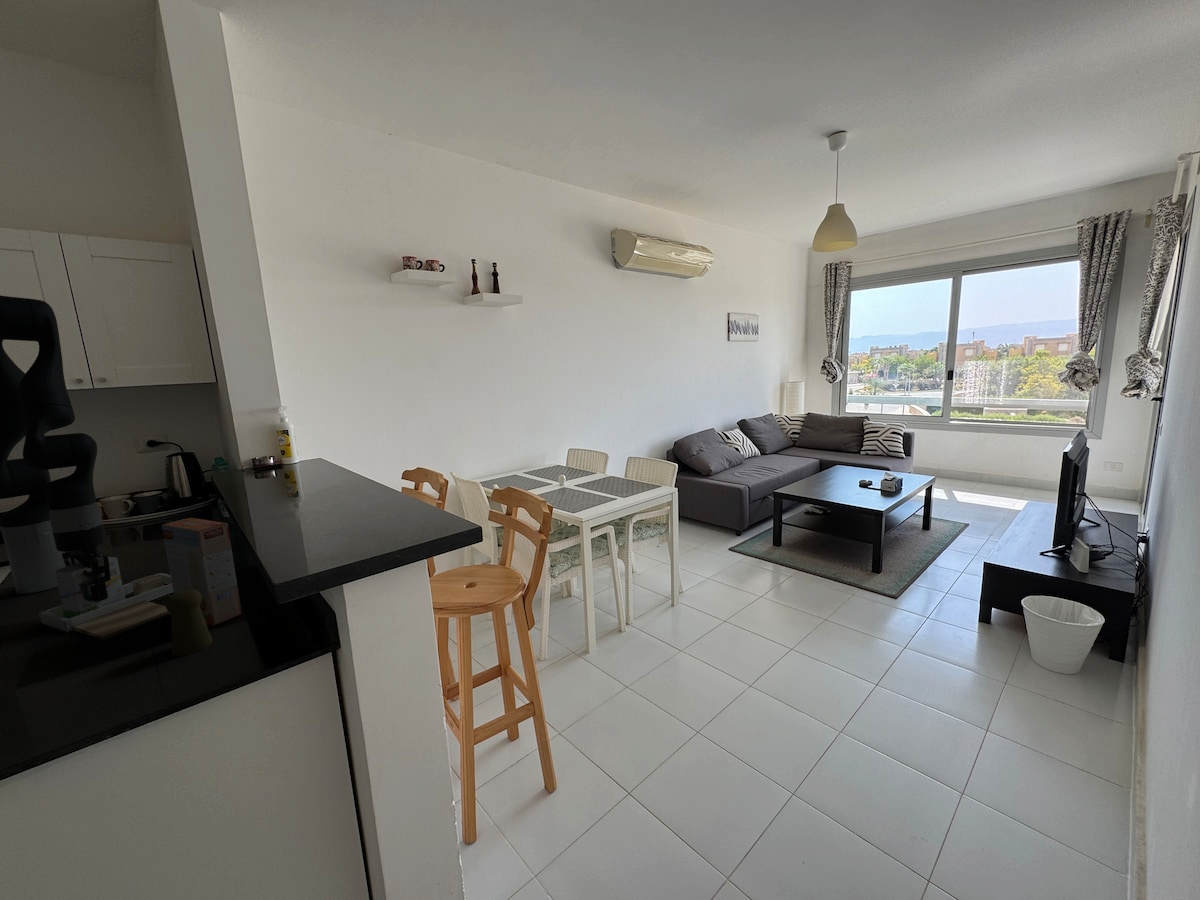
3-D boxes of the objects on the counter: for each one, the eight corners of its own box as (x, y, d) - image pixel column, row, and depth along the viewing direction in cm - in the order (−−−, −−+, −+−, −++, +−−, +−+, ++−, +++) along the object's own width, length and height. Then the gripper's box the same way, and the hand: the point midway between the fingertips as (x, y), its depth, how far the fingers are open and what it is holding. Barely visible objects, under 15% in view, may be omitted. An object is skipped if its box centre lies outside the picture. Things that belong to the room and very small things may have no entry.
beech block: (134, 597, 115) (131, 581, 115) (155, 590, 119) (152, 574, 118) (143, 599, 114) (140, 583, 113) (164, 592, 117) (161, 576, 117)
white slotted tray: (41, 623, 104) (38, 612, 103) (162, 582, 123) (160, 572, 123) (67, 632, 99) (65, 621, 99) (189, 588, 119) (187, 578, 119)
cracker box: (244, 614, 104) (228, 521, 101) (212, 628, 99) (195, 530, 96) (208, 603, 110) (192, 515, 107) (176, 615, 105) (158, 523, 101)
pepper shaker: (178, 659, 88) (167, 603, 86) (166, 650, 91) (155, 596, 89) (218, 643, 93) (208, 589, 91) (205, 635, 96) (195, 583, 94)
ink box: (111, 603, 112) (100, 555, 111) (128, 604, 111) (118, 555, 109) (64, 621, 104) (52, 570, 102) (82, 623, 103) (70, 571, 101)
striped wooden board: (73, 630, 100) (72, 626, 100) (145, 604, 111) (144, 600, 111) (103, 641, 95) (102, 636, 95) (175, 612, 106) (174, 608, 106)
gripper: (37, 527, 104) (54, 600, 107) (70, 534, 98) (87, 611, 101) (84, 517, 111) (99, 586, 113) (117, 523, 105) (132, 595, 108)
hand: (93, 597), depth 107 cm, fingers closed on ink box, 5 cm apart
